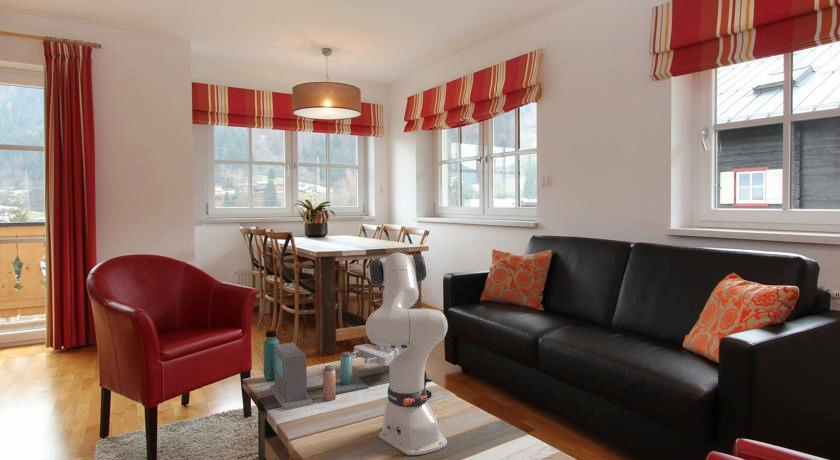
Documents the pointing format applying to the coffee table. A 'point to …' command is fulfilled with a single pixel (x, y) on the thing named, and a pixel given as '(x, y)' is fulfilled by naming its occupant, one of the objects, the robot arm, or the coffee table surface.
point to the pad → (356, 385)
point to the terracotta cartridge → (329, 383)
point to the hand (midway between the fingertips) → (358, 358)
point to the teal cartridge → (346, 368)
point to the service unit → (290, 377)
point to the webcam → (425, 385)
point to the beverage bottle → (269, 354)
